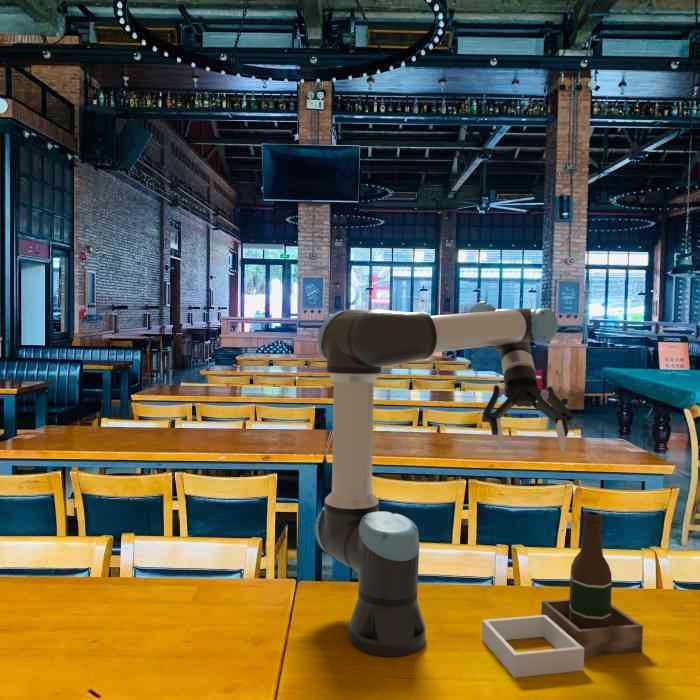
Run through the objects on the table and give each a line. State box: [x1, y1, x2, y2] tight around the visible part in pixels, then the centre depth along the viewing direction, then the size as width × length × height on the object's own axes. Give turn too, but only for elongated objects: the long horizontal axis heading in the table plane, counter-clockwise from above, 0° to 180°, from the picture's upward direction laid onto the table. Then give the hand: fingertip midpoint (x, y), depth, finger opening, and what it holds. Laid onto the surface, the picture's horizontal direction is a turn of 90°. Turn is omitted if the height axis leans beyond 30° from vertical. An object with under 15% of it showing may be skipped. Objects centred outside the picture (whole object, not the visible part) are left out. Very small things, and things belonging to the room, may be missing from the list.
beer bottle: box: [569, 511, 613, 629], centre depth 125 cm, size 8×8×24 cm
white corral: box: [481, 614, 585, 679], centre depth 118 cm, size 14×14×4 cm
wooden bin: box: [540, 598, 644, 659], centre depth 125 cm, size 14×14×5 cm
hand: (532, 447), depth 137 cm, fingers open, 13 cm apart
